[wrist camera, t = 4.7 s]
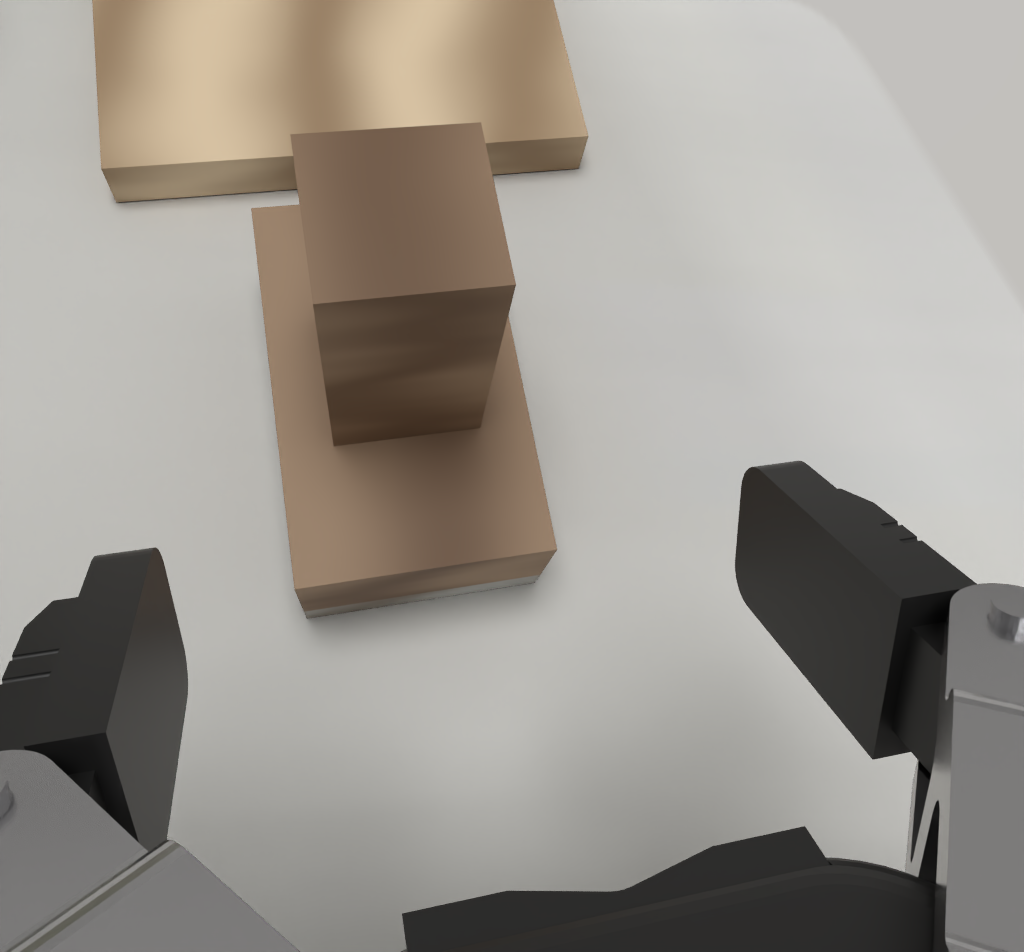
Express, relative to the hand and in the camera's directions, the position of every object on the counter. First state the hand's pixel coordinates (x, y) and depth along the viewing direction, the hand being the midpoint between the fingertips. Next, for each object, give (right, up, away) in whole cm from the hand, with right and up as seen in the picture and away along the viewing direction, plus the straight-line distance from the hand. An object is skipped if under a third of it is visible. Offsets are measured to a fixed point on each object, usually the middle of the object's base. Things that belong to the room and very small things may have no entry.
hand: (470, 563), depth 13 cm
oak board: (-6, +19, +18) cm, 27 cm away
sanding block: (-3, +3, +13) cm, 14 cm away
